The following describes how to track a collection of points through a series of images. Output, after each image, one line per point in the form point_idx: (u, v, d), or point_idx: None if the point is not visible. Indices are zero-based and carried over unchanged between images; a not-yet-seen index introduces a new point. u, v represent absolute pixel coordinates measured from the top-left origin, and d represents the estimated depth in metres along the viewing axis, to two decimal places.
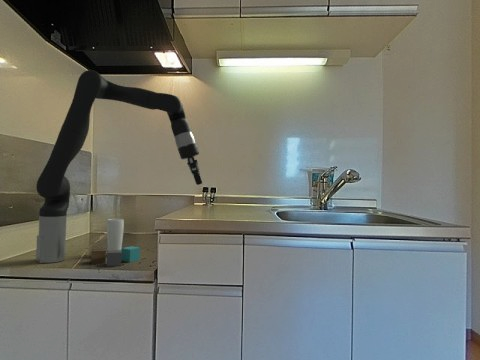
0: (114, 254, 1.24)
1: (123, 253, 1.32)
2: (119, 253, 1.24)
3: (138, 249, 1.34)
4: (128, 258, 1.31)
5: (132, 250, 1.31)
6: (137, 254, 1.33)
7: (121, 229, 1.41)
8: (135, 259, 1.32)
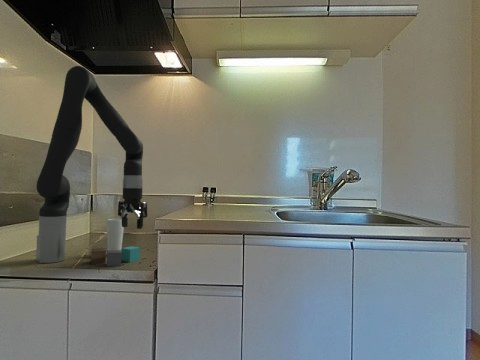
0: (114, 254, 1.24)
1: (123, 253, 1.32)
2: (119, 253, 1.24)
3: (138, 249, 1.34)
4: (128, 258, 1.31)
5: (132, 250, 1.31)
6: (137, 254, 1.33)
7: (121, 229, 1.41)
8: (135, 259, 1.32)
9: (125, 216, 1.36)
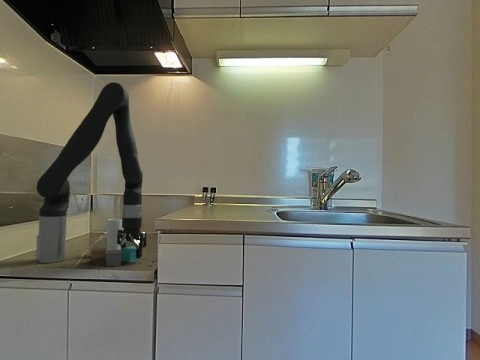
0: (114, 254, 1.23)
1: (123, 253, 1.32)
2: (119, 253, 1.24)
3: None
4: (128, 258, 1.31)
5: (132, 250, 1.31)
6: None
7: None
8: (135, 259, 1.32)
9: (124, 244, 1.36)
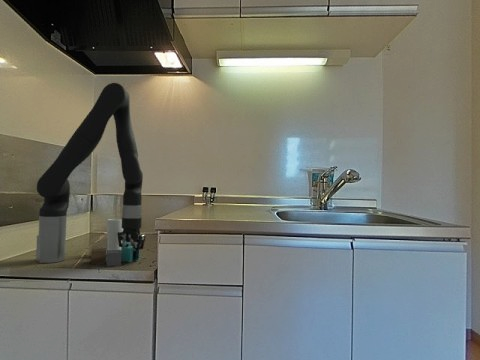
0: (114, 254, 1.23)
1: (123, 253, 1.32)
2: (119, 253, 1.24)
3: None
4: (127, 258, 1.31)
5: (132, 250, 1.31)
6: None
7: (121, 229, 1.41)
8: None
9: None
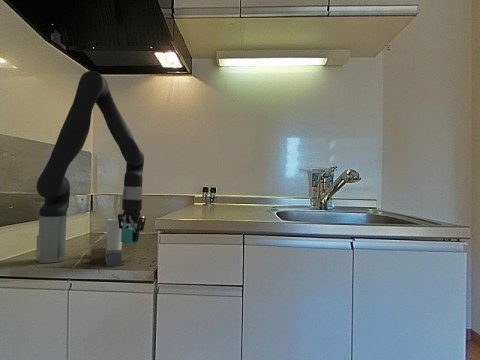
0: (114, 254, 1.23)
1: (123, 234, 1.32)
2: (119, 253, 1.24)
3: None
4: (127, 239, 1.31)
5: (132, 231, 1.31)
6: None
7: (121, 229, 1.41)
8: None
9: None
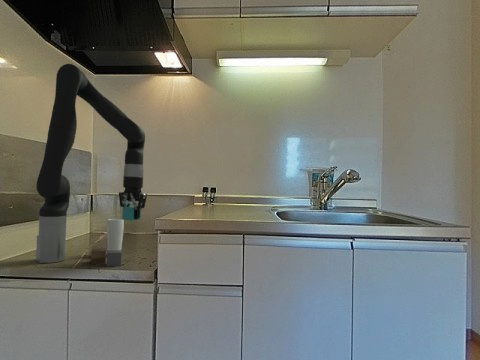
0: (114, 254, 1.23)
1: (124, 212, 1.32)
2: (119, 253, 1.24)
3: None
4: (129, 216, 1.31)
5: (133, 208, 1.31)
6: None
7: (121, 229, 1.41)
8: None
9: None
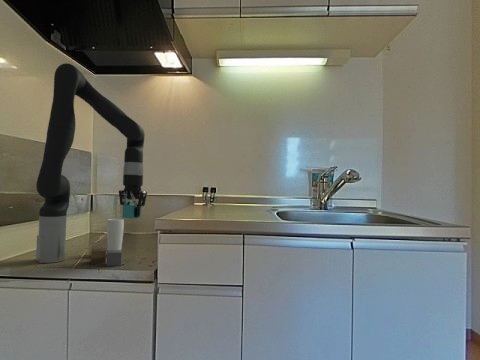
0: (114, 254, 1.23)
1: (124, 210, 1.32)
2: (119, 253, 1.24)
3: None
4: (129, 214, 1.31)
5: (133, 206, 1.31)
6: None
7: (121, 229, 1.41)
8: None
9: None
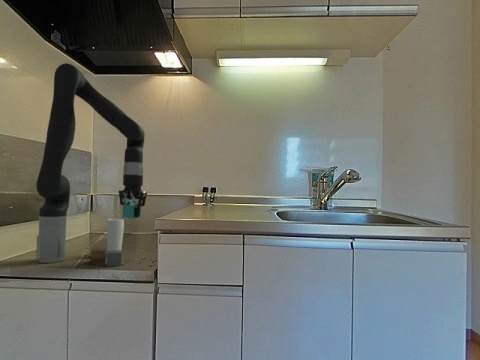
0: (114, 254, 1.23)
1: (124, 210, 1.32)
2: (119, 253, 1.24)
3: None
4: (129, 214, 1.31)
5: (133, 206, 1.31)
6: None
7: (121, 229, 1.41)
8: None
9: None
